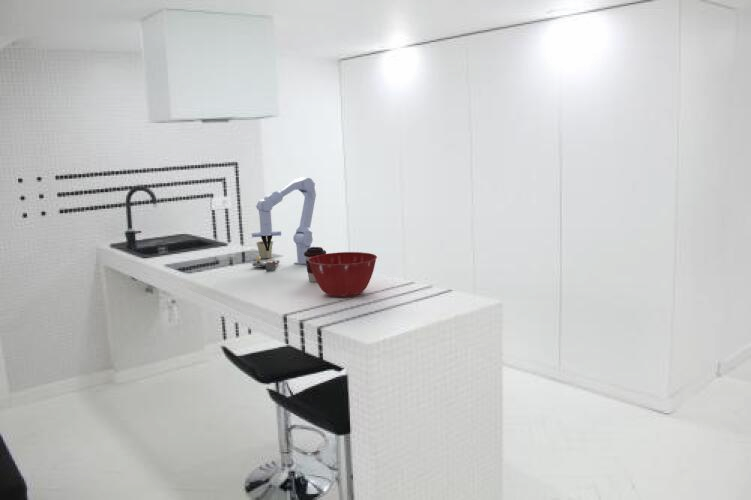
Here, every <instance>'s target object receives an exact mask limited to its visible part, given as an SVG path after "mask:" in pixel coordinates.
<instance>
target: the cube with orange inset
mask: <svg viewBox="0 0 751 500" xmlns="http://www.w3.org/2000/svg"><path fill="white" fill-rule="evenodd" d="M276 266H277V265H275V261H268V262H266V268H265V270H266V272H274V271H276V270H277V267H276Z"/></svg>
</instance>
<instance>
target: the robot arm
mask: <svg viewBox="0 0 751 500" xmlns="http://www.w3.org/2000/svg"><path fill="white" fill-rule="evenodd" d="M315 185H316V183H315V182H314V180H313V179H312V178H310V177H297V178H295V179H293V180H292V181H291V182H290V183H289V184H287V185H286V186H284V187H282V189H280V190H279V191H278V190H274V191H271V193H270V194H269V195H267V196H265V197H264V199H259V200H258V201H257V204H256V205H255V207H256V209H257V211H258V215H259V216H258V217H259V218H258V219H259V227H260V228H259V229H260V232H251V238H261V241H263V242H264V245H265V247H266V251H269V246H270V242H271V241H272V239H273V236H274V237H278V236H279V237H281V236H282V231H275V230H274V231H273V224H272V212H271V211H272V210H273V207H275V206H276V205H278V204H279V203H280V202H282V201H283V198H284V197H285V196H287V195H289V194H290V193H292V192H293V191H295V190H298V191H299V192H301V193H302V195H303V197H304V200H303V205H302V211H301V217H300V221H299V227H297V228H296V230H295V234H294V235H293V239H292V240H293V242H294V243H295V245H296V246H295V248H296V257H297V258H296V260H297V261H295V262H294V264H295V265H296V264H297V265H301V264H302V265H306V256H304V252H306V251H307V249H308V248H312V247H315V246H313V245H312V243H313V241H314V240H313V231H312V229H311V224H312V218H313V214H314V208H315V202H316V198H317V194H316V193H317V192H316V189H315ZM267 243H268V247H267Z"/></svg>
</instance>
